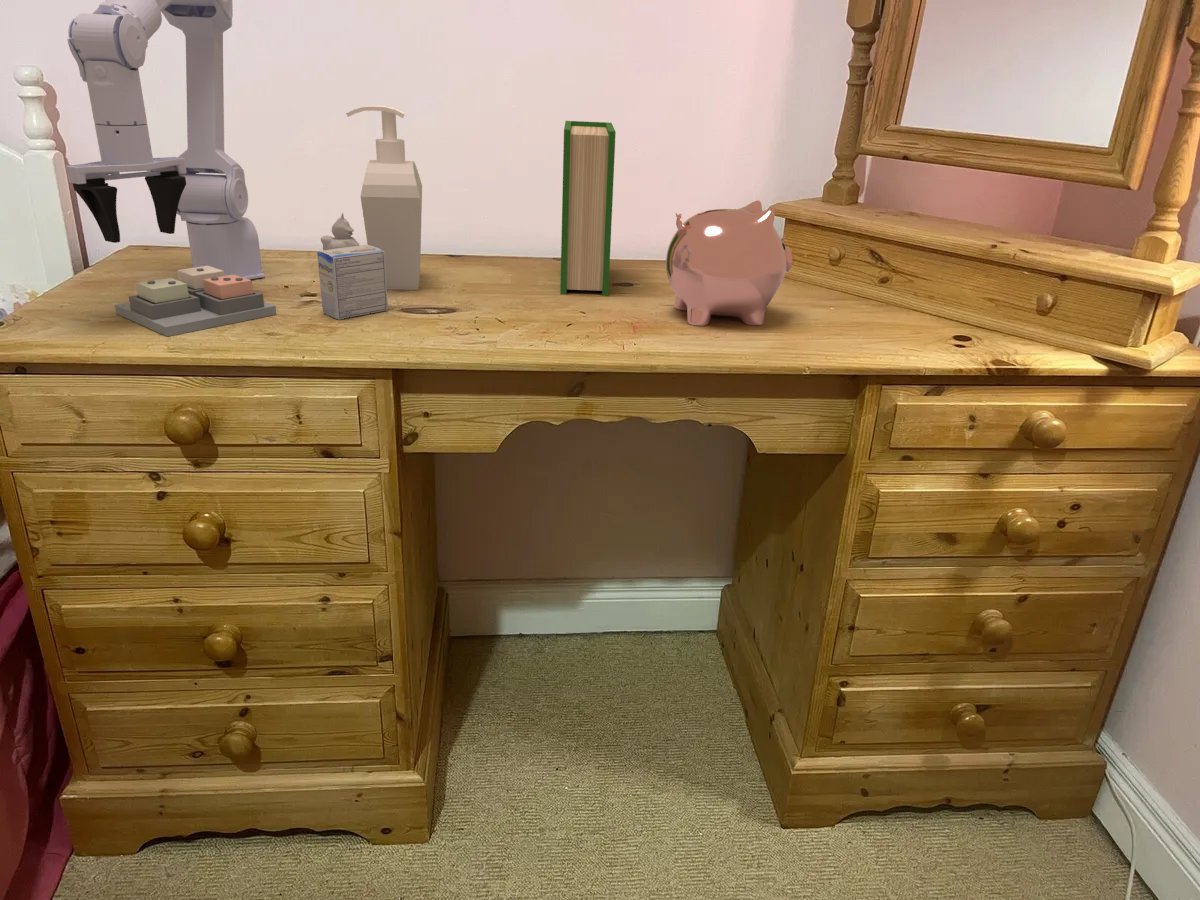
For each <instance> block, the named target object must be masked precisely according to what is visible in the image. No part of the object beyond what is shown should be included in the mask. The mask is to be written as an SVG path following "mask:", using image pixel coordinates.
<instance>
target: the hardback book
mask: <svg viewBox="0 0 1200 900" xmlns="http://www.w3.org/2000/svg"><path fill="white" fill-rule="evenodd" d="M616 132H617V131H616V129H615V126H614V125H613V124H612V122H603V121H601V122H599V121H583V120H582V121H581V120H579V121H578V120H565V122H564V127H563V151H562V152H563V159H562V160H563V161H562V201H561V202H562V203H561V240H560V241H561V243H560V244H561V245H560V246H561V247H560V248H561V249H560V253H561V255H560V286H559V287H560V290H559V291H560V292H559V294H560V295H561V296H562V295H564V296H566V295H567V292H568V291H567V290H571V291H573V290H575V291H576V290H577V291H600V292H601V296H602V297H609V291H610V290H609V288H610V287H609V285H610V263H611V242H612V241H611V240H612V220H613V219H612V218H613V197H614V180H615V179H614V176H615V174H614V171H615V158H616V157H615V156H616V152H615V151H616V134H617V133H616Z"/></svg>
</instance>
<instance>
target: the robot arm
mask: <svg viewBox="0 0 1200 900" xmlns="http://www.w3.org/2000/svg"><path fill="white" fill-rule="evenodd" d="M233 6H234V5H233V0H105V1H102V2H100V3H99V5H98V7H97V9H95V10H94V11H93V12H92V13H79V14H77V16H76V17H74V18H72V19H71V20H70V22H69V25H68V34H67V35H68V38H67V44H68V47H69V50H70V52H71V55H72V57H73V58H74V60H75V61H76V64H77V66H78V67H77V68H78V71H79V77H81V80H82V81H83V82H85V83H86V85H87V90H88V96H89V100H90V101H89V102H90V106H91V111H92V118H93V123H94V130H95V135H96V138H97V144H98V151H99V155H100V161H92V162H86V163H85V162H84V163H79V164H71V165H70V164H69V165H66V166H65V170H66V171H65V172H66V174H67V179H68V183H69V184H70V183H71V184H72V185H73V190H74V191H75V192H76V193H77V194H78V196H79V197H80V198H81V199H82V201H83V202H84V203H85V205H86V206H87V209H89V210H90V211H89V212H91V214H92V216H93V217H94V219H95V221H96V223H97V225H98V227H99V230H100V231H101V234H102V236H103V238H104V241H105V242H109V243H112V244H113V243H121V233H120V228H119V221H118V215H117V195H118V188H117V187H116V186H114V185H113V186H111V185H109V183H108V182H106V181H112V180H113V181H114V180H124V179H134V178H142V177H144V180H145V183H146V185H147V187H148V189H149V192H150V196H151V199H152V201H153V205H154V211H155V216H156V221H157V226H158V229H159V232H160V233H164V234H169V235H171V234H172V235H173V234H175V230H176V221H177V219H176V218H177V215H178V216H180V221H181V222H185V223H186V230H187V231H186V232H187V236H188V244H189V245H188V246H189V250H190V257H191V258H190V259H191V263H192V268H194V267H201V266H210V267H213V268H216V269H219V270H222V271H224V275H225V276H227V275H237V276H240V277H243V278H246V279H249V280H254V279H262V278H265V277H266V274H265V273H264V272H263V266H262V259H261V249H260V248H261V247H260V241H259V235H258V231H257V229H256V226H255V225H254V223H253V222H252V220H251V219H249V218H248V217H245V216H244V215H245V214H246V213H247V210H248V206H249V193H248V189H247V188H248V187H247V185H246V178H245V177H246V176H245V171H244V169H243V167H242V166H241V164H239V163H238V162H236V160H234V159H233V158H232V157H231V156H230V155H228V154H227V152H226V151H225V106H224V105H225V104H224V103H225V101H224V97H225V96H224V91H225V90H224V33H225V32H226V31H227V30H229V29H230V28H232V27H233V15H234V14H233V12H234V11H233ZM162 15H163V16H164V17H165V19H166V21H167V22H168V24H169V25H170V26H172V27H175V28H177V29H179V30H180V31H182V34H184V38H185V74H186V75H185V77H186V81H185V83H186V122H187V123H186V125H187V126H186V128H187V129H186V130H187V131H186V134H187V135H186V136H187V138H186V139H187V149H185V151H184V152H183V153H181V154H180V155H179V156H167V157H153V151H152V145H151V139H150V132H149V126H148V119H147V115H146V114H147V113H146V108H145V100H144V96H143V95H144V94H143V90H142V88H143V87H142V84H141V83H142V82H141V77H140V76H141V75H140V69H139V68H141V67H143V66H144V64H145V60H146V52H147V51H146V50H147V48H148V47H149V45H148V44H149V40H150V39H151V38H152V36H154V34H155V33H156V32H157V31H158V30H159V29H160V27H161V25H162V21H163V17H162Z"/></svg>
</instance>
